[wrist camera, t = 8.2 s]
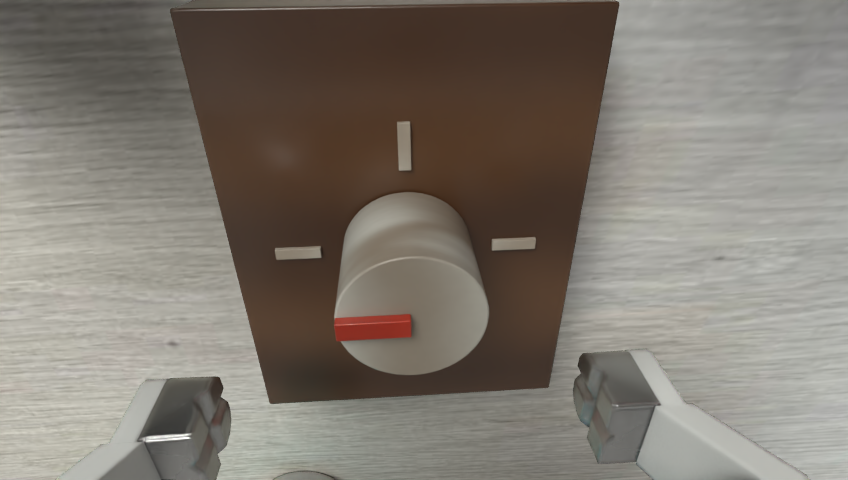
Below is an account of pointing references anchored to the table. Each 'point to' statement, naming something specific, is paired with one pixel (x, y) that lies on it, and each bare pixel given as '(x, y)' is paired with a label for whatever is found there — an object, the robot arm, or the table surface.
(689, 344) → the table surface
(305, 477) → the beverage can
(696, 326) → the table surface
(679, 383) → the table surface
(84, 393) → the table surface
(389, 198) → the volume dial
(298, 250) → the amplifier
